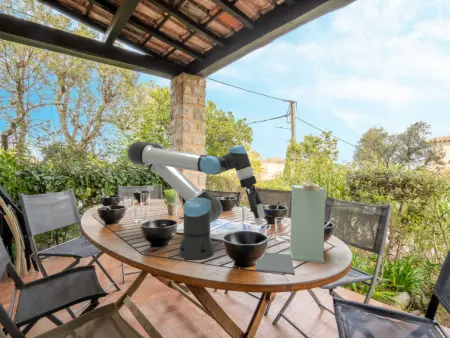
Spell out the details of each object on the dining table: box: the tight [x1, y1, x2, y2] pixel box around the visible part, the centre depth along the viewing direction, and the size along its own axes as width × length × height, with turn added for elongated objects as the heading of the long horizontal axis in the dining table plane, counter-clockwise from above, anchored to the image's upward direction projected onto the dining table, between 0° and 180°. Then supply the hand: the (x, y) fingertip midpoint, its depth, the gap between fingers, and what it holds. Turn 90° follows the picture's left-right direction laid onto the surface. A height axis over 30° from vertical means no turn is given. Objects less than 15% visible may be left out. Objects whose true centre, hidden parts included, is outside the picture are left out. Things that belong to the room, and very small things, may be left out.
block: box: [300, 181, 321, 191], centre depth 101 cm, size 4×21×2 cm, turn 169°
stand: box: [288, 184, 326, 264], centre depth 106 cm, size 13×14×30 cm
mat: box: [255, 252, 296, 276], centre depth 98 cm, size 14×18×1 cm
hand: (261, 220), depth 114 cm, fingers open, 13 cm apart
